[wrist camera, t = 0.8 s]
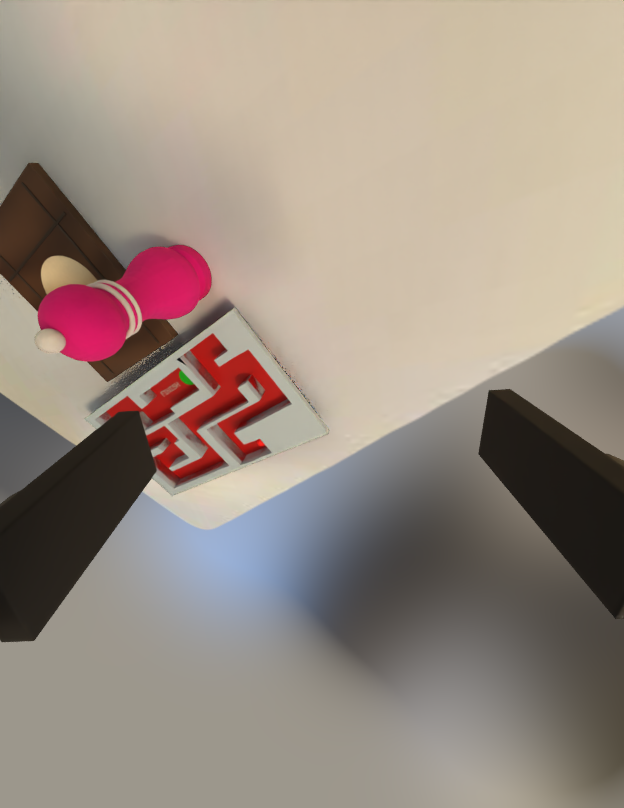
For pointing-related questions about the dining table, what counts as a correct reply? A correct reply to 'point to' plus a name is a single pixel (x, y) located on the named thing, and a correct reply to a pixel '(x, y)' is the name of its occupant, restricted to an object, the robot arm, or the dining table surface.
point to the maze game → (215, 407)
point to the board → (63, 258)
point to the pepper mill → (121, 303)
